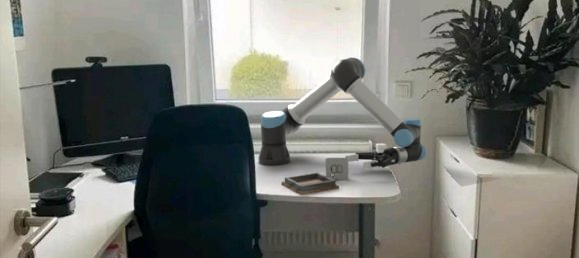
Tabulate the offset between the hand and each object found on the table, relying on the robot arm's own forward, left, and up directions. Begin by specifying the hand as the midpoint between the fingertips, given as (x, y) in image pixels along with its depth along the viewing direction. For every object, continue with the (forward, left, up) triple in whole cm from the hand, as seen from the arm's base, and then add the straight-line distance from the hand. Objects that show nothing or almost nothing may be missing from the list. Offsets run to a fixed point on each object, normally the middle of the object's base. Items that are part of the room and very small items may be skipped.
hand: (354, 162), depth 238 cm
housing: (+4, -24, -6) cm, 25 cm away
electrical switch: (0, -9, -6) cm, 11 cm away
